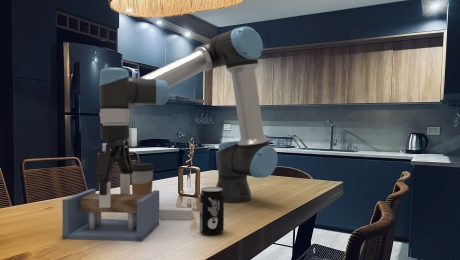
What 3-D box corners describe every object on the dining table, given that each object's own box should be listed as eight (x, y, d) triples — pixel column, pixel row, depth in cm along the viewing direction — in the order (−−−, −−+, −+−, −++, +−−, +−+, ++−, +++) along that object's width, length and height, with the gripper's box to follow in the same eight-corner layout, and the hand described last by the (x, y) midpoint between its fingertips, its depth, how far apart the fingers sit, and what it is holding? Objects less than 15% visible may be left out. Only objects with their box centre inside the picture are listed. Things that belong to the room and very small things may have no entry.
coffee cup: (147, 207, 120) (147, 165, 120) (126, 206, 121) (126, 165, 121) (157, 202, 128) (157, 163, 128) (137, 201, 130) (137, 162, 130)
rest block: (192, 217, 107) (192, 208, 107) (190, 220, 104) (190, 210, 104) (161, 216, 107) (161, 207, 107) (158, 219, 104) (159, 209, 104)
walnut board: (147, 206, 95) (147, 194, 95) (138, 213, 89) (138, 199, 88) (92, 205, 97) (92, 193, 97) (80, 211, 90) (80, 198, 90)
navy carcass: (159, 224, 99) (159, 190, 99) (142, 241, 84) (142, 201, 84) (90, 222, 101) (90, 189, 101) (62, 238, 86) (62, 199, 86)
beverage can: (228, 232, 92) (228, 188, 92) (211, 238, 87) (211, 192, 87) (211, 227, 96) (211, 185, 96) (194, 232, 91) (194, 188, 91)
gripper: (119, 124, 105) (120, 192, 105) (78, 124, 80) (79, 212, 81) (142, 124, 105) (143, 192, 105) (108, 124, 80) (109, 213, 80)
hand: (115, 201), depth 93 cm, fingers open, 13 cm apart
